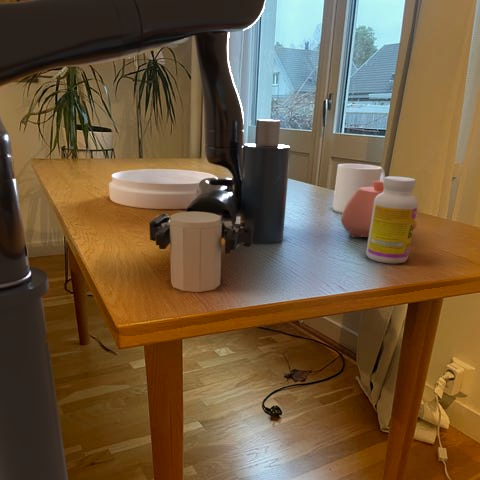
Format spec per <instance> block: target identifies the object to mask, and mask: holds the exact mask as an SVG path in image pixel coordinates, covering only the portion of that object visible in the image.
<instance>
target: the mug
mask: <svg viewBox="0 0 480 480" xmlns="http://www.w3.org/2000/svg"><path fill="white" fill-rule="evenodd" d="M385 173H386V172H385V169H383V167H382V166H379V165H373V164H365V163H338V164H337V169H336V176H335V186H334V194H333V201H332V210H333V211H334V212H335V213H338V214H343V211H344V209H345V207H346V205H347V203H348V202H349V200H350V199H351V197H352V196H353V195H354V194H355V192H356V191H357V190H358V189H359V188H361V187H374V185H373V181H384V178H385V177H386V174H385Z"/></svg>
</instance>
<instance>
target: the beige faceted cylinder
mask: <svg viewBox="0 0 480 480" xmlns="http://www.w3.org/2000/svg"><path fill="white" fill-rule="evenodd" d="M169 220H170V244H169V250H170V251H169V254H170V256H169V257H170V283H171V286H172V287H173V288H174V289H176V290H180V291H183V292H189V293H190V292H191V293H192V292H193V293H202V292H208V291H212V290H215V289H217V288H218V287H219V286H220V285H221V274H222V273H221V268H222V267H221V265H222V245H221V233H222V224H221V217H220V216H218V215H216V214H213V213H207V212H185V211H181V212H180V211H179V212H176V213H172V214H171V215H170V216H169Z"/></svg>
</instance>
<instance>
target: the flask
mask: <svg viewBox="0 0 480 480" xmlns="http://www.w3.org/2000/svg"><path fill="white" fill-rule="evenodd" d="M280 129H281V120H279V119H256V120H255V139H254V140H255V141H254V143H243V165H242V189H241V213H240V217H239V224H241V222H242V221H245V219H252V220H253V237H252V244H261V245H264V244H266V245H267V244H270V245H271V244H276V243H281V242H282V241H283V240H284V230H285V219H286V218H285V217H286V206H287V194H288V193H287V192H288V183H289V170H290V168H289V167H290V156H291V146H290V145H285V144H280V132H281V131H280Z"/></svg>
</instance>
